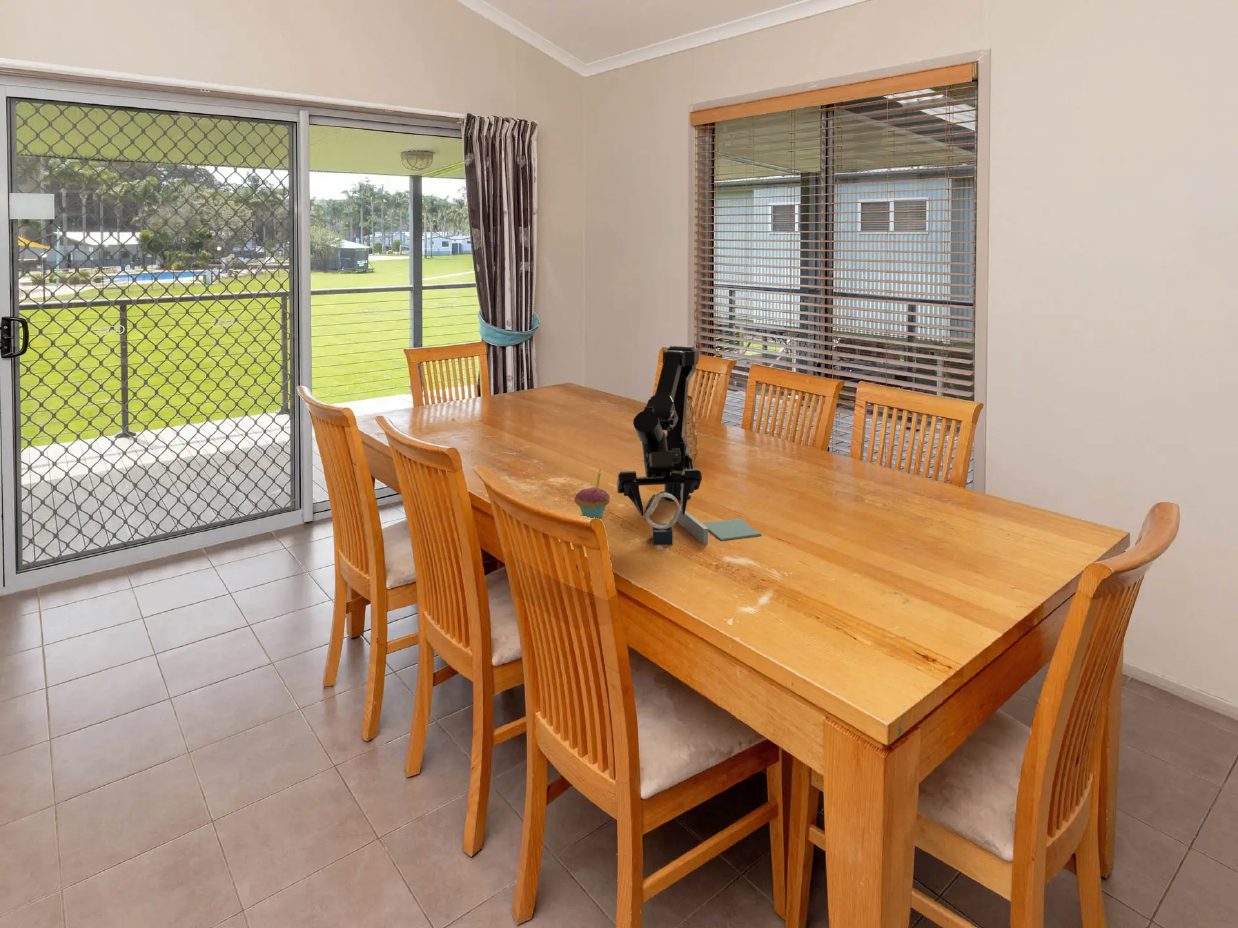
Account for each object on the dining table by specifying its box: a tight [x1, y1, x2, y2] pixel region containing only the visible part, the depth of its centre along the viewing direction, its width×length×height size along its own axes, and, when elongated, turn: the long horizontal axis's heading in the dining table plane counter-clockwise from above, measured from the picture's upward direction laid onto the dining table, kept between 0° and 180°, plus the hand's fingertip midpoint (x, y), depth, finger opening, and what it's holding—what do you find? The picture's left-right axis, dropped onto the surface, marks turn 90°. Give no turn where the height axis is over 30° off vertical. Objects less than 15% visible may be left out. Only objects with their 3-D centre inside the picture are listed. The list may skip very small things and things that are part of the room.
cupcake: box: [574, 468, 611, 519], centre depth 200 cm, size 9×8×12 cm
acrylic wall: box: [676, 506, 709, 545], centre depth 191 cm, size 16×1×4 cm, turn 19°
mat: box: [701, 518, 762, 542], centre depth 192 cm, size 11×10×1 cm
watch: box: [643, 491, 681, 546], centre depth 184 cm, size 6×8×11 cm
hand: (663, 514), depth 183 cm, fingers open, 9 cm apart
